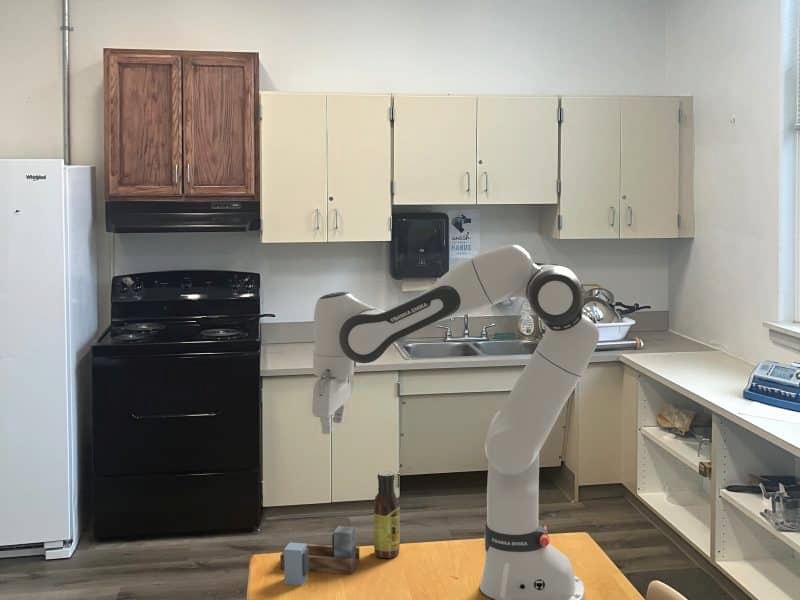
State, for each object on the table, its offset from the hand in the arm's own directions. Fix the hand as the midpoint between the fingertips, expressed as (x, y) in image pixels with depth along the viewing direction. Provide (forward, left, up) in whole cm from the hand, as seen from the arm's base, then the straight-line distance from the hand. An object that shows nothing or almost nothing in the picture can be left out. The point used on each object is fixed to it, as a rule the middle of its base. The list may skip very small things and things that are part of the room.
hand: (332, 427), depth 193 cm
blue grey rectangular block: (+9, +2, -35) cm, 36 cm away
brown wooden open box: (+6, -7, -35) cm, 36 cm away
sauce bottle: (-8, -16, -35) cm, 40 cm away
